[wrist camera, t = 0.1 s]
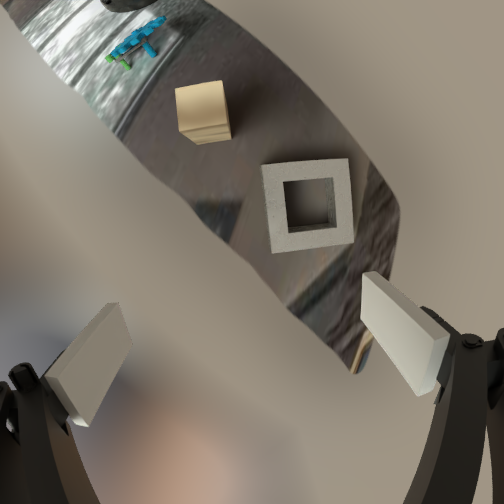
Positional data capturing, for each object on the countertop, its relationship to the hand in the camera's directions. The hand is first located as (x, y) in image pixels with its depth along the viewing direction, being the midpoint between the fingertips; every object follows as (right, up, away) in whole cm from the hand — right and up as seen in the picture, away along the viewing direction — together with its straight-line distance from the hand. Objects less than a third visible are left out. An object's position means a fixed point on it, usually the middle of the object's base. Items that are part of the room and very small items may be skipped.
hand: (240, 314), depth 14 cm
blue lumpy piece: (-17, +36, +19) cm, 44 cm away
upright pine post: (-5, +21, +23) cm, 32 cm away
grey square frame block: (+8, +11, +26) cm, 30 cm away
